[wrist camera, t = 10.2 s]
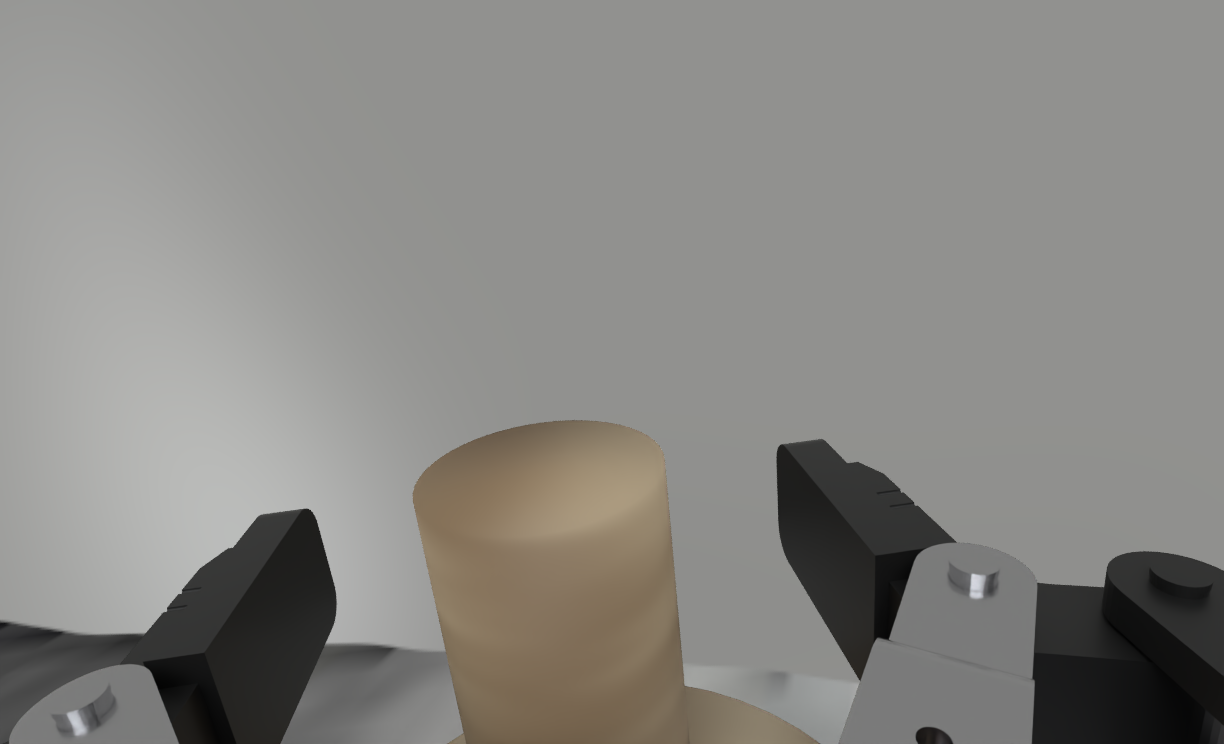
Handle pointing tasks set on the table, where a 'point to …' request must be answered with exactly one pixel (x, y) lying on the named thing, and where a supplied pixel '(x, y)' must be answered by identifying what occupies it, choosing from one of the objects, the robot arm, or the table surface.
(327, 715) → the table surface
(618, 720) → the paper towel holder
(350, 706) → the table surface
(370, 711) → the table surface
